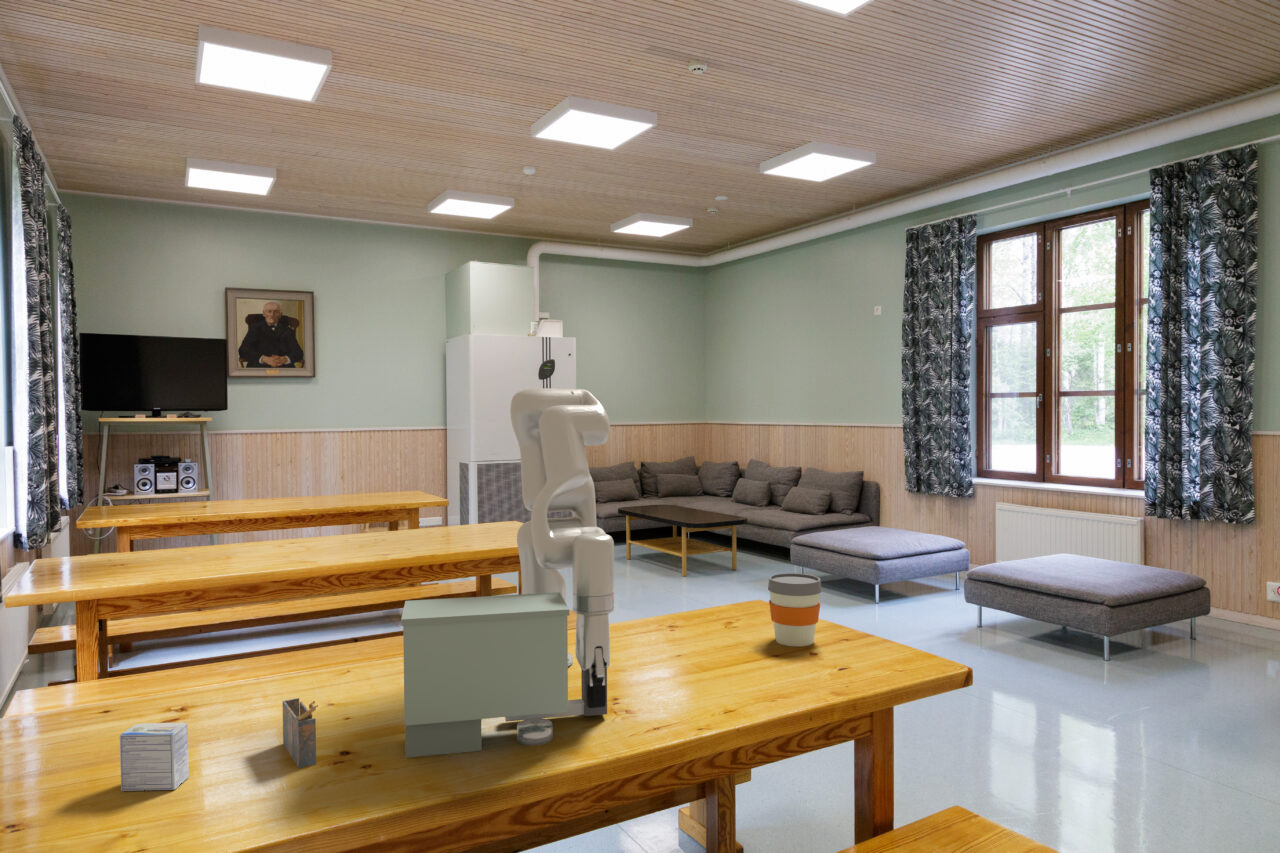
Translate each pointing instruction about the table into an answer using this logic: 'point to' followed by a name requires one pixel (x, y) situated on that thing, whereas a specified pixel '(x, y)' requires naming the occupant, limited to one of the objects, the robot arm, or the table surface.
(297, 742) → the weathered grey open box
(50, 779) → the table surface
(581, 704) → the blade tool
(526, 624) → the cabinet
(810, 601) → the reusable coffee cup
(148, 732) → the medicine box
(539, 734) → the steel token
